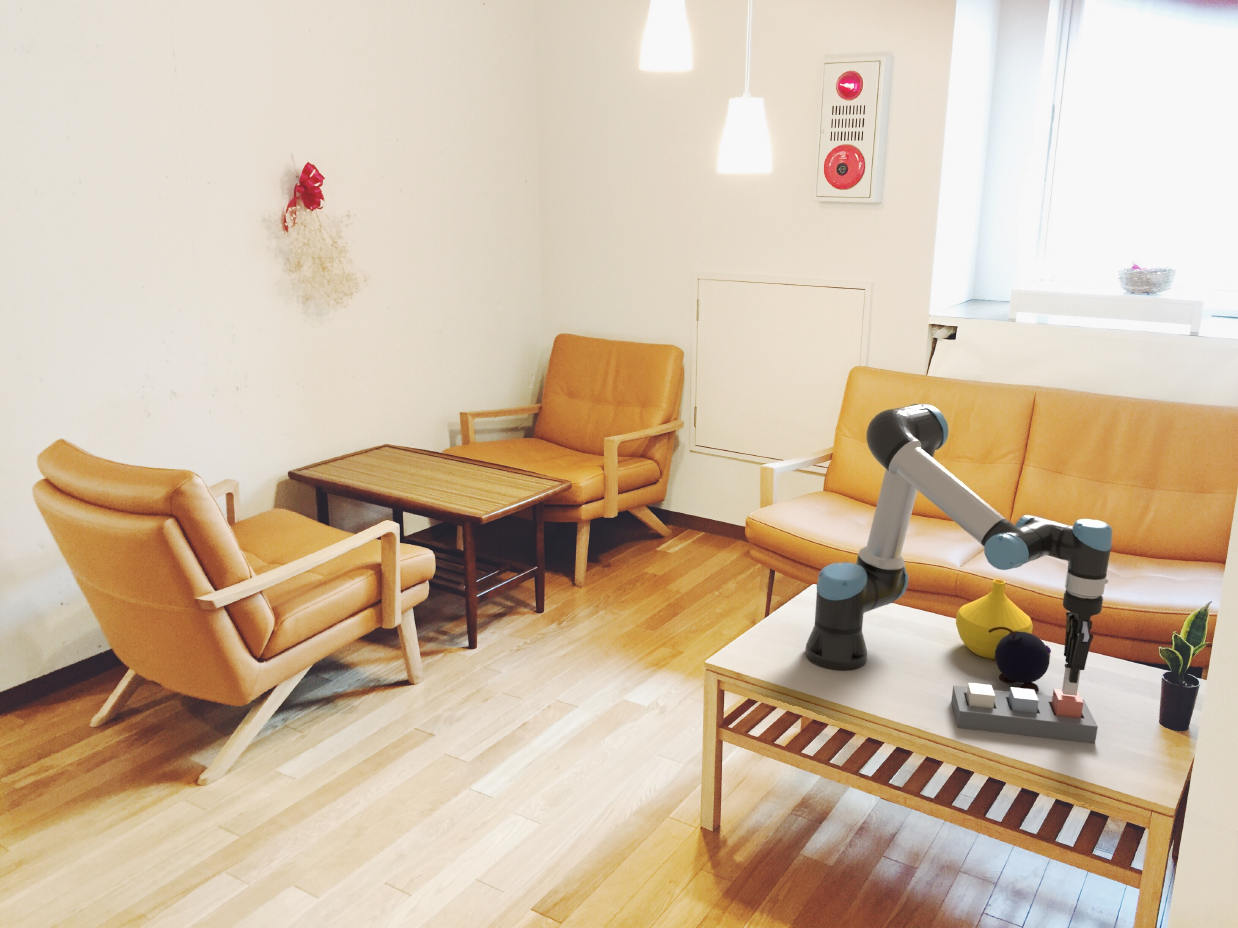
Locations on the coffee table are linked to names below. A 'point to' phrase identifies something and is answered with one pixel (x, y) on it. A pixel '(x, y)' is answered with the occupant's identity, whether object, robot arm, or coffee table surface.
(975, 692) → the key ivory
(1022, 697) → the key slate
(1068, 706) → the key brick
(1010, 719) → the console
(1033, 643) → the toy
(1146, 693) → the coffee table surface
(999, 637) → the vase
